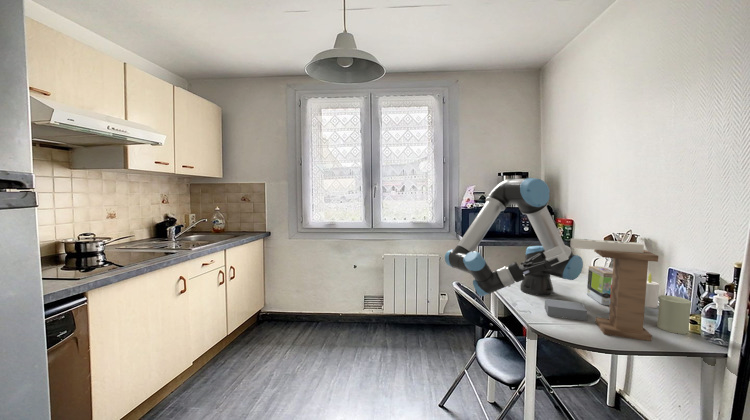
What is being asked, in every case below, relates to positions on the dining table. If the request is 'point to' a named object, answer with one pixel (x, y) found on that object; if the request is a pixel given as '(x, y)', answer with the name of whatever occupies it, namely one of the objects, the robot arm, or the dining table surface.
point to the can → (674, 314)
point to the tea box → (600, 284)
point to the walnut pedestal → (627, 294)
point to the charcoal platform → (565, 309)
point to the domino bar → (607, 245)
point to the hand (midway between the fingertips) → (564, 251)
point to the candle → (651, 293)
